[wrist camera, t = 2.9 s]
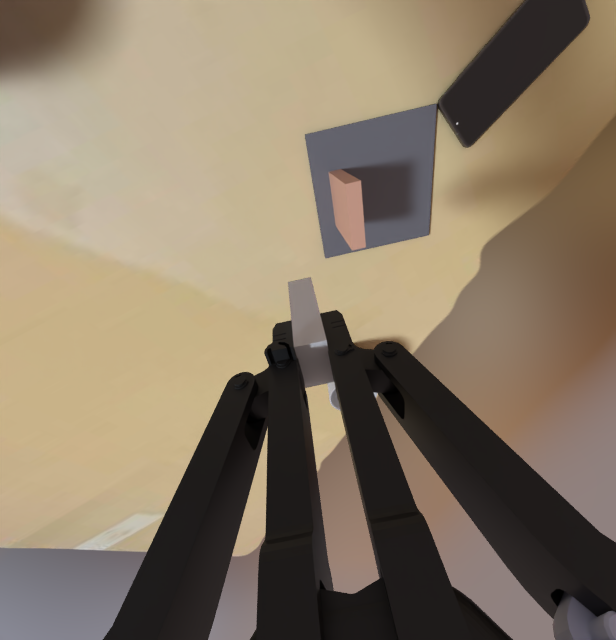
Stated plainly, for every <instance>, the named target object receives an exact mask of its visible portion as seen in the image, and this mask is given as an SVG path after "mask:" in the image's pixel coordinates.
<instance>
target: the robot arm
mask: <svg viewBox="0 0 616 640" xmlns="http://www.w3.org/2000/svg"><path fill="white" fill-rule="evenodd" d="M288 287H289V299H290V310H291V321H287V322H282V323H277V324H276V325H275V327H274V328H273V343H271V344H270V345H268V346H267V348H266V349H265V352H264V353H265V356H266V359H267V361H268V364H269V367H268V368H267V369H266V370H265V371H263V372H261V373H259V374H257V375H255V376H254V375H253V374H251V373H249V372H242V373H239V374H237V375H235V376H233V377H232V378H231V379H230V380H229V381H228V383H227V385H226V387H225V389H224V391H223V393H222V395H221V397H220V400H219V402H218V404H217V406H216V408H215V410H214V412H213V414H212V416H211V419H210V421H209V423H208V425H207V427H206V429H205V431H204V433H203V436H202V438H201V440H200V442H199V444H198V446H197V448H196V450H195V452H194V455H193V457H192V459H191V461H190V463H189V465H188V467H187V469H186V471H185V474H184V476H183V478H182V480H181V482H180V484H179V486H178V488H177V490H176V493H175V495H174V497H173V499H172V501H171V503H170V505H169V507H168V510H167V512H166V514H165V516H164V518H163V520H162V522H161V524H160V526H159V529H158V531H157V533H156V535H155V537H154V539H153V541H152V543H151V545H150V548H149V550H148V552H147V554H146V556H145V558H144V560H143V562H142V565H141V567H140V569H139V571H138V573H137V575H136V577H135V579H134V581H133V584H132V586H131V588H130V590H129V592H128V594H127V596H126V598H125V601H124V603H123V605H122V607H121V609H120V611H119V613H118V616H117V617H116V619H115V622H114V624H113V626H112V627H111V629H110V630H109V632H108V633H107V635H106V636H105V637H104V639H103V640H208V637H209V634H210V631H211V628H212V624H213V621H214V618H215V614H216V610H217V607H218V603H219V599H220V596H221V592H222V588H223V585H224V582H225V578H226V574H227V571H228V567H229V564H230V560H231V557H232V553H233V549H234V546H235V542H236V539H237V535H238V531H239V528H240V524H241V521H242V517H243V513H244V510H245V506H246V503H247V499H248V495H249V492H250V488H251V485H252V481H253V477H254V474H255V470H256V467H257V463H258V459H259V456H260V452H261V449H262V445H263V441H264V438H265V434H266V431H267V427H268V446H267V497H266V536H265V541H264V543H263V544H262V546H261V549H260V555H259V571H258V601H257V602H258V603H257V628H256V630H255V632H254V634H253V636H252V637H251V639H250V640H513V639H512V638H510V637H509V636H508V635H507V634H506V633H505V632H504V631H503V630H502V629H501V628H500V627H499V626H498V625H497V624H496V623H495V622H494V621H493V620H492V619H491V618H490V617H489V616H487V615H486V613H485V612H483V611H482V610H481V609H480V608H479V607H478V606H477V605H476V604H475V603H474V602H473V601H472V600H471V599H469V598H468V597H467V596H466V595H464V594H463V593H462V592H460V591H459V590H457V589H456V588H454V587H452V586H451V583H450V581H449V578H448V576H447V573H446V570H445V568H444V565H443V563H442V560H441V558H440V555H439V553H438V550H437V547H436V545H435V542H434V540H433V537H432V534H431V532H430V529H429V527H428V525H427V523H426V520H425V518H424V516H423V515H422V513H420V511H419V510H418V509H417V506H416V504H415V502H414V499H413V496H412V494H411V491H410V488H409V486H408V483H407V480H406V478H405V475H404V472H403V470H402V467H401V464H400V462H399V459H398V457H397V454H396V451H395V449H394V446H393V443H392V440H391V438H390V435H389V432H388V430H387V427H386V425H385V422H384V419H383V416H382V414H381V411H380V409H379V406H378V403H377V401H376V398H375V395H374V393H373V392H375V393H378V395H379V396H380V398H381V399H382V400H383V402H384V403H385V404H386V406H387V407H388V408H389V410H390V411H391V413H392V414H393V415H394V417H395V418H396V419H397V420H398V422H399V423H400V425H401V426H402V427H403V428H404V430H405V431H406V433H407V434H408V435H409V437H410V438H411V439H412V441H413V442H414V443H415V445H416V446H417V447H418V449H419V450H420V451H421V453H422V454H423V455H424V457H425V458H426V459H427V461H428V462H429V463H430V465H431V466H432V467H433V469H434V470H435V471H436V473H437V474H438V475H439V477H440V478H441V479H442V481H443V482H444V483H445V485H446V486H447V487H448V489H449V490H450V491H451V493H452V494H453V495H454V497H455V498H456V499H457V501H458V502H459V503H460V505H461V506H462V507H463V509H464V510H465V511H466V513H467V514H468V515H469V517H470V518H471V519H472V521H473V522H474V523H475V525H476V526H477V528H478V529H479V530H480V531H481V533H482V534H483V536H484V537H485V538H486V539H487V541H488V542H489V544H490V545H491V546H492V548H493V549H494V550H495V551H496V553H497V554H498V556H499V557H500V558H501V560H502V561H503V562H504V564H505V565H506V566H507V568H508V569H509V570H510V571H511V572H512V574H513V575H514V576H515V577H516V579H517V580H518V581H519V582H520V584H521V585H522V586H523V587H524V589H525V590H526V591H527V592H528V593H529V594H530V595H531V596H532V597H533V598H534V599H535V601H536V602H537V603H538V604H539V605H540V606H541V607H542V608H543V609H544V610H545V611H546V612H547V613H548V614H549V615H550V616H551V617H552V618H553V619H554V621H553V630H554V637H555V639H556V640H616V543H615V542H614V541H612V540H611V539H609V538H608V537H606V536H605V535H603V534H602V533H600V532H599V531H598V530H597V529H596V528H595V527H594V526H593V525H592V524H591V523H589V522H588V521H587V520H586V519H585V518H584V517H583V516H582V515H581V514H580V513H579V512H578V511H577V510H576V509H575V508H574V507H573V506H572V505H570V504H569V503H568V502H567V501H566V500H565V499H564V498H563V497H562V496H561V495H560V494H559V493H558V492H557V491H556V490H554V488H552V487H551V486H550V485H549V484H548V483H547V482H546V481H545V480H544V479H543V478H542V477H541V476H540V475H539V474H538V473H537V472H536V471H534V470H533V469H532V468H531V467H530V466H529V465H528V464H527V463H526V462H525V461H524V460H523V459H522V458H521V457H520V456H519V455H517V454H516V453H515V452H514V451H513V450H512V449H511V448H510V447H509V446H508V445H507V444H506V443H505V442H504V441H503V440H501V438H499V437H498V436H497V435H496V434H495V433H494V432H493V431H492V430H491V429H490V428H489V427H488V426H487V425H486V424H485V423H484V422H482V421H481V420H480V419H479V418H478V417H477V416H476V415H475V414H474V413H473V412H472V411H471V410H470V409H469V408H468V407H467V406H466V405H465V404H463V403H462V402H461V401H460V400H459V399H458V398H457V397H456V396H455V395H454V394H453V393H452V392H451V391H449V389H448V388H446V387H445V386H444V385H443V384H442V383H441V382H440V381H439V380H438V379H437V378H436V377H435V376H434V375H433V374H432V373H431V372H429V371H428V370H427V369H426V368H425V367H424V366H423V365H422V364H421V363H420V362H419V361H418V360H417V359H416V358H415V357H414V356H412V354H410V353H409V352H408V351H407V350H406V349H405V348H404V347H403V346H402V345H400V344H399V343H397V342H393V341H385V342H381V343H380V344H378V345H377V346H376V347H375V348H374V350H371V349H362V348H359V347H357V346H355V344H353V342H352V340H351V337H350V334H349V332H348V329H347V326H346V324H345V321H344V318H343V315H342V314H341V313H340V312H338V311H337V310H335V311H330V312H326V313H321V314H320V312H319V308H318V304H317V300H316V296H315V292H314V288H313V284H312V280H311V277H309V278H304V279H300V280H295V281H291V282H288ZM331 382H334V383H335V388H336V393H337V398H338V401H339V405H340V410H341V414H342V418H343V423H344V427H345V431H346V435H347V440H348V444H349V448H350V452H351V457H352V461H353V465H354V469H355V473H356V478H357V482H358V486H359V491H360V495H361V499H362V503H363V508H364V512H365V516H366V521H367V525H368V529H369V534H370V538H371V542H372V546H373V550H374V555H375V560H376V564H377V569H378V574H379V577H380V579H379V580H377V581H375V582H373V583H372V584H370V585H368V586H367V587H365V588H364V589H362V590H360V591H358V592H357V593H355V594H347V593H341V592H336V591H334V590H333V583H332V577H331V572H330V568H329V563H328V556H327V549H326V541H325V533H324V525H323V518H322V510H321V502H320V494H319V486H318V478H317V470H316V462H315V454H314V446H313V439H312V431H311V423H310V415H309V407H308V399H307V394H306V391H305V388H307V387H312V386H316V385H321V384H326V383H331Z"/></svg>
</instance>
